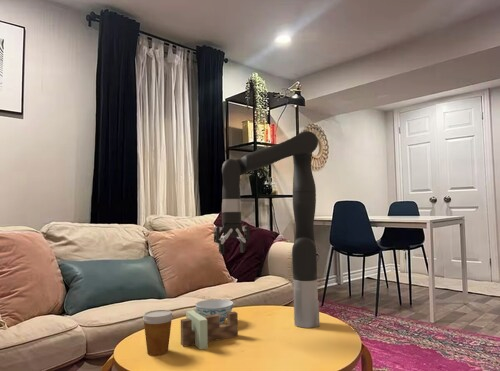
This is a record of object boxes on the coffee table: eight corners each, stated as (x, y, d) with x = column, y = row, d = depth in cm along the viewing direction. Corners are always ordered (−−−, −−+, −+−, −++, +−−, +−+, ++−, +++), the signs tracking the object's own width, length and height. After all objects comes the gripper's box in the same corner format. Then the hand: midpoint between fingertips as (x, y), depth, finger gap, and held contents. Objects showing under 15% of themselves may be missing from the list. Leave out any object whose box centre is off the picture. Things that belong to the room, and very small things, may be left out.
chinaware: (204, 331, 137) (204, 310, 137) (190, 321, 150) (190, 302, 150) (240, 324, 144) (239, 304, 145) (223, 316, 157) (223, 297, 158)
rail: (234, 334, 133) (234, 311, 133) (237, 336, 130) (237, 312, 131) (180, 344, 123) (180, 319, 124) (183, 346, 121) (182, 321, 122)
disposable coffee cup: (179, 349, 119) (179, 310, 120) (160, 359, 110) (160, 318, 111) (155, 345, 123) (155, 308, 124) (135, 355, 114) (135, 315, 115)
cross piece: (186, 337, 130) (186, 311, 131) (193, 336, 131) (192, 310, 132) (200, 349, 118) (200, 320, 119) (207, 348, 119) (207, 319, 120)
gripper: (243, 211, 150) (244, 251, 148) (210, 211, 143) (211, 253, 142) (252, 210, 143) (253, 253, 142) (218, 211, 136) (219, 255, 135)
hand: (232, 253), depth 142 cm, fingers open, 8 cm apart
